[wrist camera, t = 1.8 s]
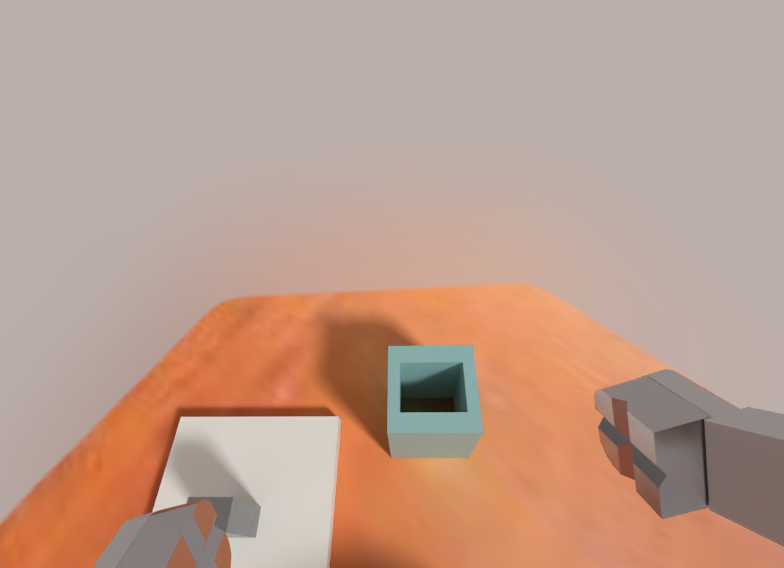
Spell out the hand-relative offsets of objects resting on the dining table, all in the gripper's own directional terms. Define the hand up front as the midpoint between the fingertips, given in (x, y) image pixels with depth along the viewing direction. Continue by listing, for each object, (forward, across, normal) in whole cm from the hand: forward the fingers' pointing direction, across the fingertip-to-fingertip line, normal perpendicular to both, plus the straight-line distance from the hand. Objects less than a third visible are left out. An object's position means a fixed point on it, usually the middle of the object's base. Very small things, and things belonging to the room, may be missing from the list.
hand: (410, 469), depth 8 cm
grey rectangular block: (+19, +15, +16) cm, 29 cm away
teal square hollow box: (+25, -1, +16) cm, 29 cm away
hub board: (+20, +15, +17) cm, 31 cm away
